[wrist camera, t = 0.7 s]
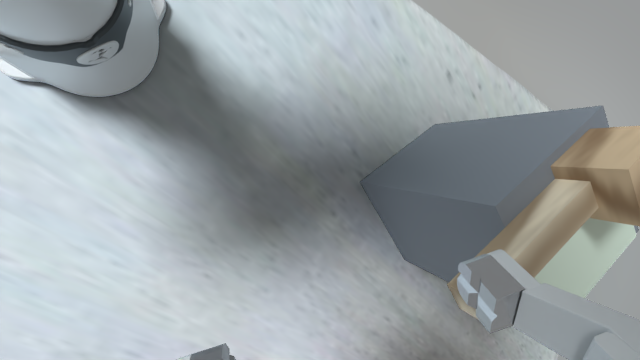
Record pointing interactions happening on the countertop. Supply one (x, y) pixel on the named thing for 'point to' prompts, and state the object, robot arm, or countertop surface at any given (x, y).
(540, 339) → the robot arm
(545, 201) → the mallet
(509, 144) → the stand
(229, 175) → the countertop surface
